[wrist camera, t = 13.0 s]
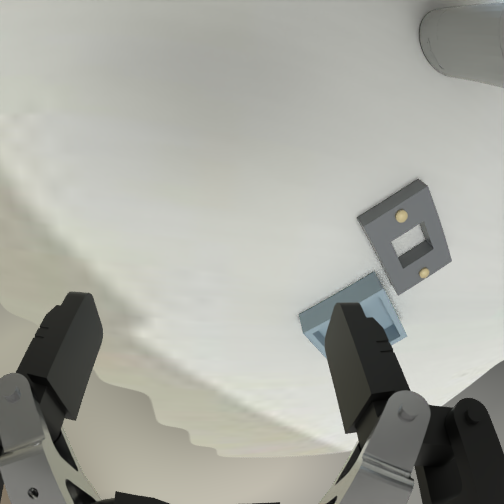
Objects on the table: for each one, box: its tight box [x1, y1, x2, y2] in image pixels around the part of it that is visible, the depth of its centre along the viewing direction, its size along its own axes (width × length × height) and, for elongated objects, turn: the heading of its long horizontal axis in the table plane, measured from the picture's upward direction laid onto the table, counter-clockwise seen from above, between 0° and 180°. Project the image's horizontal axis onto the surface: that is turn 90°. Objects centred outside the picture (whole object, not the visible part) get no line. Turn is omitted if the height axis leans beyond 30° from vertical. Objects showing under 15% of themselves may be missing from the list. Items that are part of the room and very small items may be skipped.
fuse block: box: [357, 179, 452, 295], centre depth 40 cm, size 10×14×3 cm
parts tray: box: [299, 272, 407, 359], centre depth 47 cm, size 13×13×4 cm
